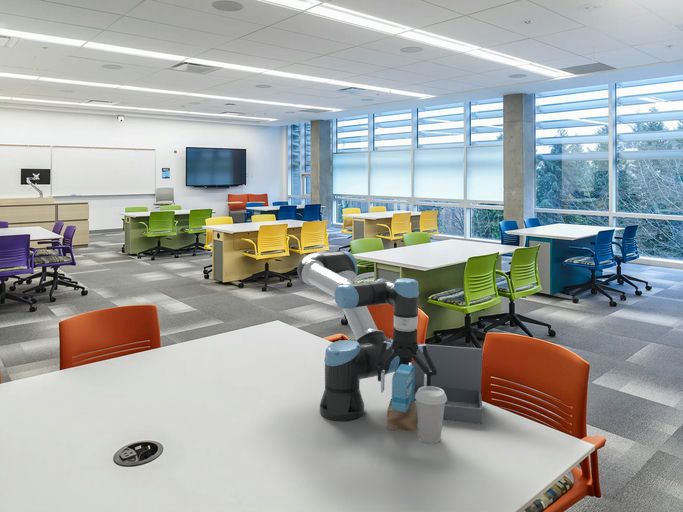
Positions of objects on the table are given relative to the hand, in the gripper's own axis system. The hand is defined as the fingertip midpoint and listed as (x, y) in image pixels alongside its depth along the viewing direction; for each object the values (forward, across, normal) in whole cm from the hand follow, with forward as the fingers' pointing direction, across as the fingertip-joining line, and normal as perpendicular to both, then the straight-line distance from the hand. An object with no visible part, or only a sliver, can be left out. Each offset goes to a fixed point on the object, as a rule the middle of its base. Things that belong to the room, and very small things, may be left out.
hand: (403, 393), depth 161 cm
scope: (+10, -2, +33) cm, 35 cm away
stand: (+10, 0, 0) cm, 10 cm away
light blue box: (+4, 0, 0) cm, 4 cm away
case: (+10, +13, +14) cm, 21 cm away
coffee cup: (+10, +9, -8) cm, 16 cm away
